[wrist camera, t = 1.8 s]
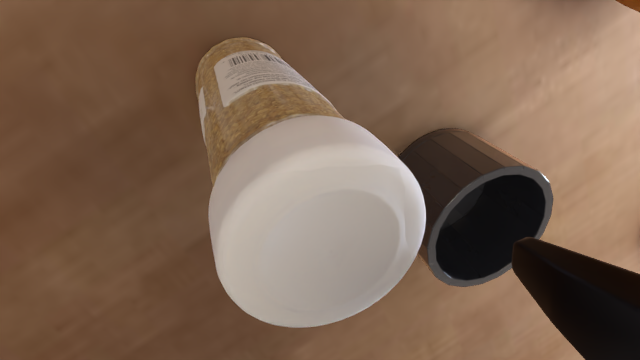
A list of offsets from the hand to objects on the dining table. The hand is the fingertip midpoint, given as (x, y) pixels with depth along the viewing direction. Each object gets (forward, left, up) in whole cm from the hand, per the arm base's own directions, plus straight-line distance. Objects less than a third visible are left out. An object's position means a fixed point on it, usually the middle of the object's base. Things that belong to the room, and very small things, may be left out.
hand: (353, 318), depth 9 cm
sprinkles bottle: (0, +2, -13) cm, 14 cm away
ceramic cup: (+10, -8, -13) cm, 18 cm away
